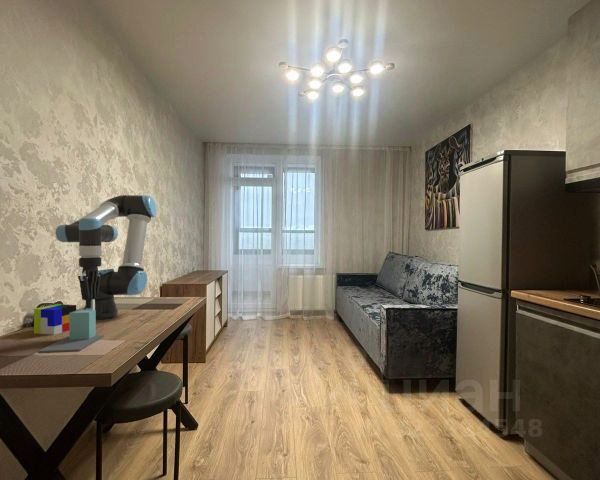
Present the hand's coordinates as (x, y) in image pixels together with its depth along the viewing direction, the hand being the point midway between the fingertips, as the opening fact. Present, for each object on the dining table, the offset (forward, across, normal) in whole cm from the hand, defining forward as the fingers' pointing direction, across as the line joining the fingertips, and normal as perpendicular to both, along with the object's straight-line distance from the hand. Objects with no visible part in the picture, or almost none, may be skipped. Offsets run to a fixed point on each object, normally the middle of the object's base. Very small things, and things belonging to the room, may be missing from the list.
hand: (90, 315), depth 127 cm
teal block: (+7, +5, 0) cm, 9 cm away
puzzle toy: (+8, -9, -18) cm, 21 cm away
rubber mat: (+8, +11, 0) cm, 14 cm away
